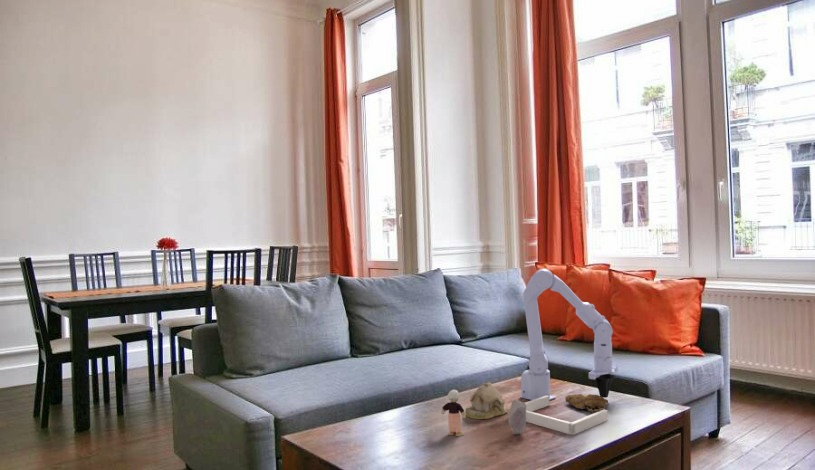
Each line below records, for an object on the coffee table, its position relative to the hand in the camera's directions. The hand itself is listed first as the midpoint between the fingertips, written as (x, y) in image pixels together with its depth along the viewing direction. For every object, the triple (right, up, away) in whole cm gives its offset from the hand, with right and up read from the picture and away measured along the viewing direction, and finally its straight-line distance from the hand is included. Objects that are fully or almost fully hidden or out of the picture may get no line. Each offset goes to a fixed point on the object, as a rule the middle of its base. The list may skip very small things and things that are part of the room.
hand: (603, 396), depth 199 cm
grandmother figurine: (-52, -3, -27) cm, 59 cm away
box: (-19, -2, -16) cm, 25 cm away
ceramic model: (-40, -3, -9) cm, 42 cm away
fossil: (-34, -3, -29) cm, 45 cm away
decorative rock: (-7, -2, -6) cm, 9 cm away
